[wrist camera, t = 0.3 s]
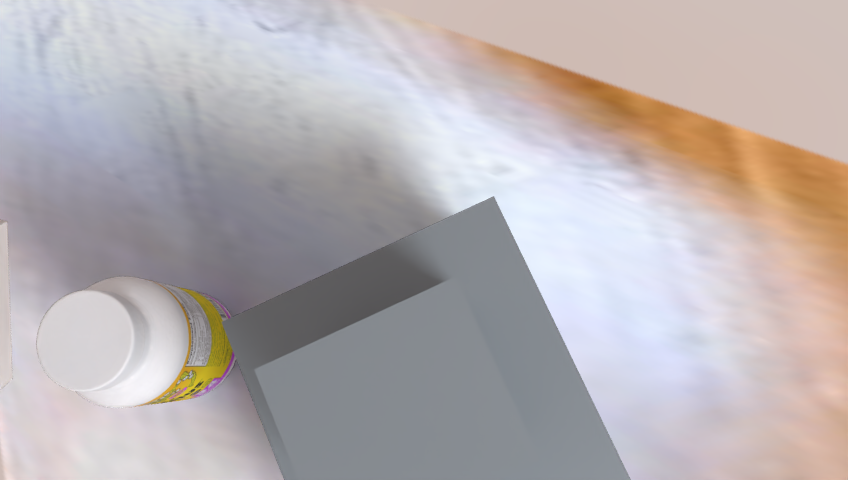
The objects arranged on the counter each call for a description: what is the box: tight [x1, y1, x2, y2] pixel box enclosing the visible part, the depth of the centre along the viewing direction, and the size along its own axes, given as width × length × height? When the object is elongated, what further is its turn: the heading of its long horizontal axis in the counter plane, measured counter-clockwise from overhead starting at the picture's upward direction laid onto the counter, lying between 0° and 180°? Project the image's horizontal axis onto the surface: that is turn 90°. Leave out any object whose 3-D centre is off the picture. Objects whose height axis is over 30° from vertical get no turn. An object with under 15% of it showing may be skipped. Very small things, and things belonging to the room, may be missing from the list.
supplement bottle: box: [36, 277, 236, 408], centre depth 41 cm, size 7×7×13 cm
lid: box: [222, 196, 630, 480], centre depth 32 cm, size 15×15×11 cm
